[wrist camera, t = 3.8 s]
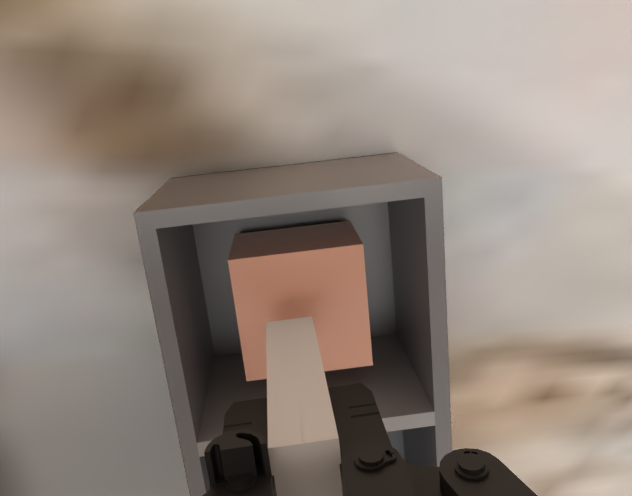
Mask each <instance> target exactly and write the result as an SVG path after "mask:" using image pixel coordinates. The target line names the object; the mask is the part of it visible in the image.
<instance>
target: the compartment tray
mask: <svg viewBox="0 0 632 496" xmlns="http://www.w3.org/2000/svg"><path fill="white" fill-rule="evenodd" d="M134 218H135V223H136V228H137V233H138V238H139V243H140V248H141V253H142V258H143V263H144V268H145V272H146V277H147V282H148V287H149V292H150V297H151V302H152V307H153V312H154V317H155V322H156V327H157V332H158V337H159V342H160V347H161V352H162V357H163V362H164V367H165V372H166V377H167V382H168V387H169V392H170V397H171V402H172V407H173V412H174V417H175V422H176V427H177V432H178V437H179V442H180V447H181V452H182V457H183V462H184V467H185V472H186V477H187V482H188V487H189V492H190V496H202V495H204V494H205V493H206V492H207V491H208V490H209V489H210V482H209V477H208V472H207V466H206V461H205V455H204V451H205V449H206V447H207V445H208V444H209V443H210V442H211V441H212V440H213V439H214V438H216V437H218V436H220V435H222V434H223V428H224V417H225V413H226V412H227V410H228V409H229V408H230V406H231V405H232V404H233V402H238V401H245V400H252V399H260V398H267V379H262V380H254V381H246V375H245V368H244V362H243V355H242V349H241V342H240V336H239V330H238V323H237V317H236V310H235V304H234V297H233V291H232V284H231V278H230V271H229V265H228V257H229V254H230V250H231V246H232V242H233V238H234V234H241V233H250V232H258V231H267V230H275V229H284V228H292V227H301V226H309V225H318V224H326V223H335V222H343V221H351V223H352V225H353V227H354V229H355V230H356V232H357V234H358V236H359V238H360V239H361V241H362V243H363V248H364V260H365V273H366V285H367V297H368V310H369V322H370V334H371V346H372V359H373V365H371V366H363V367H355V368H348V369H340V370H332V371H324V373H325V377H326V382H327V386H328V388H329V387H336V386H343V385H350V384H357V383H362V384H363V385H364V386H366V387H367V388H368V389H369V390H371V391H372V393H373V396H374V398H375V401H376V405H377V407H378V409H379V413H380V415H381V418H382V421H383V423H384V426H385V429H386V432H387V434H388V437H389V440H390V443H391V446H392V447H393V448H394V449H396V450H397V451H398V453H399V454H400V455H401V457H402V459H404V460H406V461H408V462H411V463H414V464H417V465H423V466H434V467H439V466H440V461H441V460H442V458H443V457H444V456H445V455H446V454H448V453H450V452H452V437H451V411H450V385H449V358H448V332H447V306H446V280H445V253H444V227H443V201H442V177H440V176H438V175H436V174H435V173H433V172H431V171H429V170H427V169H426V168H424V167H422V166H420V165H418V164H417V163H415V162H413V161H411V160H409V159H408V158H406V157H404V156H402V155H400V154H399V153H389V154H380V155H371V156H363V157H354V158H345V159H336V160H327V161H318V162H309V163H300V164H292V165H283V166H274V167H265V168H256V169H247V170H238V171H230V172H221V173H212V174H203V175H194V176H185V177H176V178H171V179H170V180H169V181H168V182H166V183H165V184H164V185H163V186H162V187H161V188H160V189H159V190H158V191H157V192H156V193H155V194H153V195H152V196H151V197H150V198H149V199H148V200H147V201H146V202H145V203H144V204H143V205H141V206H140V207H139V208H138V209H137V210H136V211H135V212H134Z"/></svg>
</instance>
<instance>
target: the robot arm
mask: <svg viewBox="0 0 632 496" xmlns="http://www.w3.org/2000/svg"><path fill="white" fill-rule="evenodd" d="M266 356H267V398H260V399H252V400H245V401H238V402H233V404H232V405H231V406H230V408H229V409H228V410H227V412H226V413H225V417H224V428H223V434H222V435H220V436H218V437H216V438H214V439H213V440H212V441H211V442H210V443H209V444H208V445H207V447H206V449H205V451H204V455H205V461H206V466H207V472H208V477H209V482H210V489H209V490H208V491H207V492H206V493H205V494H204V495H202V496H537V495H536V494H535V493H534V492H533V491H532V490H531V489H530V488H528V487H527V486H526V485H525V484H524V483H523V482H522V481H521V480H520V479H519V478H518V477H517V476H516V475H515V474H514V473H513V472H511V471H510V470H509V469H508V468H507V467H506V466H505V465H504V464H503V463H502V462H501V461H500V460H499V459H497V458H496V457H494V456H493V455H491V454H490V453H488V452H484V451H481V450H478V449H467V448H465V449H459V450H454V451H452V452H450V453H448V454H446V455H445V456H444V457H443V458H442V460H441V461H440V466H439V467H434V466H423V465H417V464H414V463H411V462H408V461H406V460H404V459H402V457H401V455H400V454H399V453H398V451H397V450H396V449H394V448H393V447H392V446H391V443H390V440H389V437H388V434H387V432H386V429H385V426H384V423H383V421H382V418H381V415H380V413H379V409H378V407H377V405H376V401H375V398H374V396H373V393H372V391H371V390H369V389H368V388H367V387H366V386H364V385H363V384H362V383H357V384H350V385H343V386H336V387H329V388H328V386H327V382H326V377H325V373H324V368H323V363H322V359H321V354H320V350H319V345H318V340H317V336H316V331H315V327H314V322H313V317H312V316H310V317H302V318H295V319H287V320H280V321H272V322H266Z"/></svg>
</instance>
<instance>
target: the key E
mask: <svg viewBox="0 0 632 496" xmlns="http://www.w3.org/2000/svg"><path fill="white" fill-rule="evenodd" d="M228 265H229V271H230V278H231V284H232V291H233V297H234V304H235V310H236V317H237V323H238V330H239V336H240V342H241V349H242V355H243V362H244V368H245V375H246V381H254V380H262V379H267V356H266V322H272V321H280V320H287V319H295V318H302V317H310V316H312V317H313V322H314V327H315V331H316V336H317V340H318V345H319V350H320V354H321V359H322V363H323V368H324V371H332V370H340V369H348V368H355V367H363V366H371V365H373V359H372V346H371V334H370V322H369V310H368V297H367V285H366V273H365V260H364V248H363V243H362V241H361V239H360V238H359V236H358V234H357V232H356V230H355V229H354V227H353V225H352V223H351V221H343V222H335V223H326V224H318V225H309V226H301V227H292V228H284V229H275V230H267V231H258V232H250V233H241V234H234V238H233V242H232V246H231V250H230V254H229V257H228Z"/></svg>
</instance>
